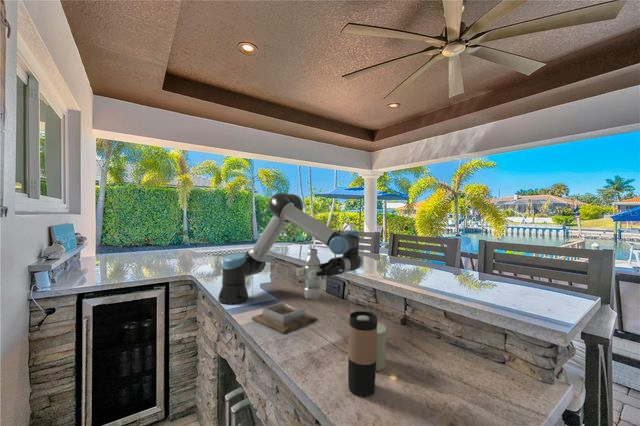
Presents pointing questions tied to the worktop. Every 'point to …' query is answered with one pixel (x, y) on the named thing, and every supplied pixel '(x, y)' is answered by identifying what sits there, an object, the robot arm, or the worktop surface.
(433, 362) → the worktop surface
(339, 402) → the worktop surface
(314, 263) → the plastic bottle
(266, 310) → the grey square tray
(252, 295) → the worktop surface
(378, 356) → the can
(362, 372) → the travel mug
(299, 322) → the board
